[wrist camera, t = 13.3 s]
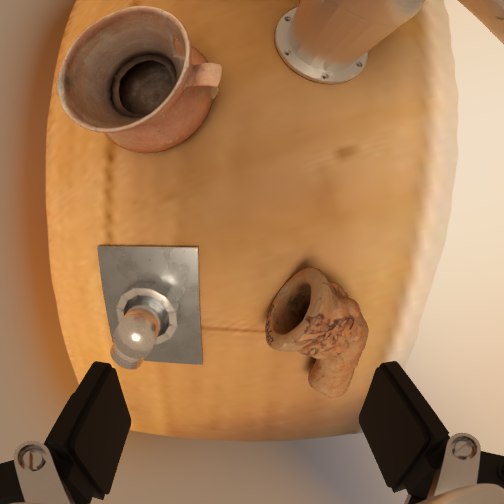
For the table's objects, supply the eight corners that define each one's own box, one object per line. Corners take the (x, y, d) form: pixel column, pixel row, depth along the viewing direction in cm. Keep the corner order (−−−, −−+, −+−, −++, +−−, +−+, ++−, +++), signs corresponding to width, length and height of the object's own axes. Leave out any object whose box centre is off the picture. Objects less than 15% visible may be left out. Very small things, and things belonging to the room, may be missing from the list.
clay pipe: (352, 258, 42) (262, 254, 36) (404, 283, 33) (307, 286, 27) (323, 362, 47) (242, 375, 41) (360, 399, 37) (271, 424, 31)
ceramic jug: (234, 52, 30) (234, -7, 16) (217, 159, 34) (205, 151, 20) (104, 53, 28) (53, 13, 15) (86, 152, 32) (19, 149, 18)
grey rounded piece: (142, 286, 37) (120, 316, 29) (172, 304, 38) (158, 337, 30) (124, 324, 38) (103, 358, 30) (152, 341, 39) (137, 377, 31)
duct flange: (99, 245, 36) (90, 250, 33) (198, 246, 36) (195, 252, 34) (117, 355, 40) (111, 365, 38) (203, 362, 41) (201, 373, 39)
